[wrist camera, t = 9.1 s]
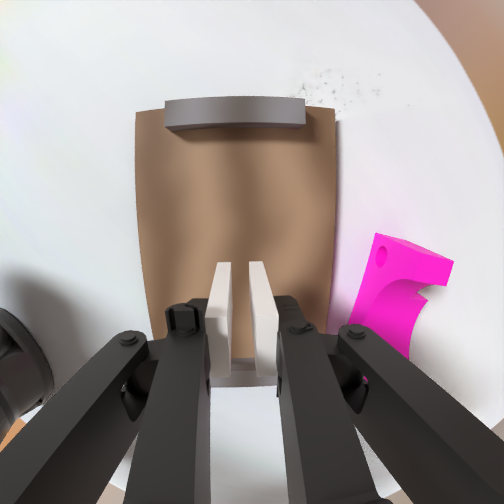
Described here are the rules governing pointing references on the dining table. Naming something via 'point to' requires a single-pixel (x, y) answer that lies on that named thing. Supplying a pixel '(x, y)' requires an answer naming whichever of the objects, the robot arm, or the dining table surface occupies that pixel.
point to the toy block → (397, 288)
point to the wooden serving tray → (236, 208)
